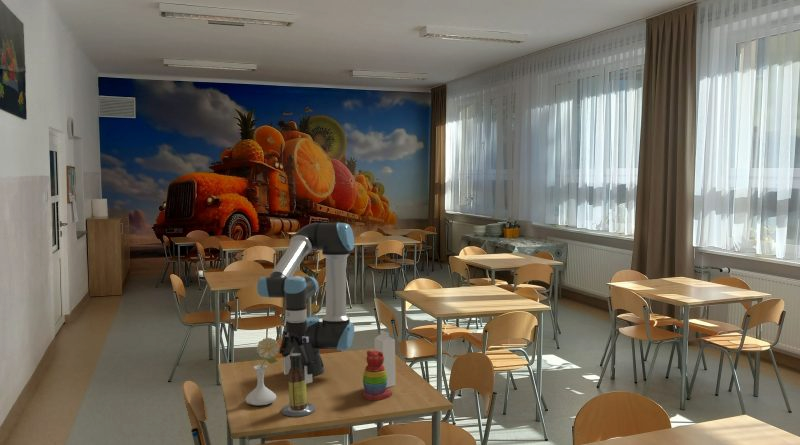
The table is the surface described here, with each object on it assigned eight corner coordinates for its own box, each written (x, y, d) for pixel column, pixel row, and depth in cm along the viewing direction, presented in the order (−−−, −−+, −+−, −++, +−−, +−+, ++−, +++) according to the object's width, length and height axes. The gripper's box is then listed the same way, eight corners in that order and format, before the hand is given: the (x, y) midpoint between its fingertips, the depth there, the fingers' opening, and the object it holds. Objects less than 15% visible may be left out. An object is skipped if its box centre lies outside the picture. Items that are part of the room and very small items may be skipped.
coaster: (275, 410, 232) (275, 408, 232) (302, 402, 240) (302, 399, 240) (293, 419, 223) (293, 417, 223) (321, 410, 231) (321, 408, 231)
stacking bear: (394, 394, 248) (393, 349, 247) (382, 402, 239) (381, 355, 238) (369, 390, 253) (369, 345, 251) (357, 398, 244) (356, 352, 242)
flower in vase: (241, 408, 235) (239, 341, 233) (250, 397, 246) (248, 333, 244) (276, 408, 234) (275, 341, 232) (284, 397, 245) (282, 333, 243)
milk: (383, 388, 254) (382, 334, 252) (374, 384, 259) (373, 331, 257) (395, 385, 258) (395, 331, 256) (387, 381, 263) (386, 328, 261)
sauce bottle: (310, 405, 233) (308, 352, 232) (302, 412, 228) (300, 357, 226) (294, 404, 236) (292, 351, 234) (285, 410, 230) (284, 355, 228)
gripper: (268, 316, 236) (270, 372, 238) (307, 328, 217) (309, 389, 219) (286, 312, 241) (287, 367, 243) (325, 324, 222) (326, 383, 224)
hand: (297, 378), depth 231 cm, fingers open, 13 cm apart
